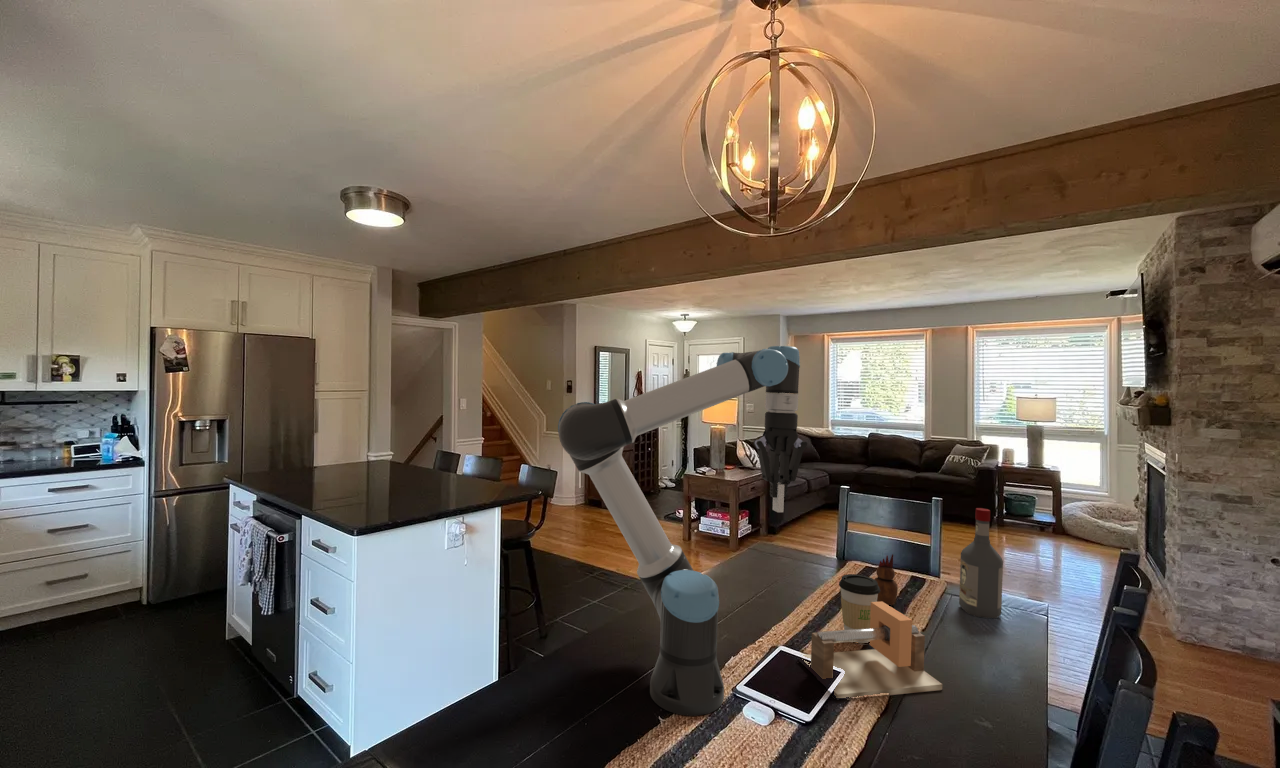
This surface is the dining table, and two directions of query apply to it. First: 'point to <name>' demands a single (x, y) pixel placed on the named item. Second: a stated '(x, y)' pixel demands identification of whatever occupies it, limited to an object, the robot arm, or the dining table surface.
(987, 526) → the liquor
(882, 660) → the wooden rod stand
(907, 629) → the orange square ring
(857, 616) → the coffee cup
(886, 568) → the wooden figurine
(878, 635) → the pipe
